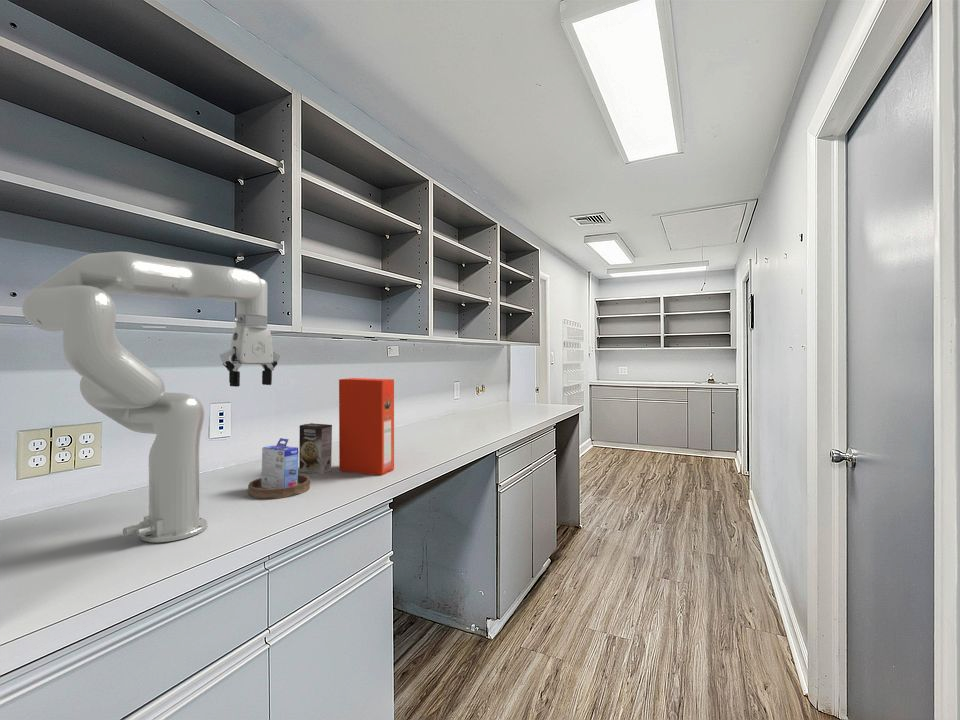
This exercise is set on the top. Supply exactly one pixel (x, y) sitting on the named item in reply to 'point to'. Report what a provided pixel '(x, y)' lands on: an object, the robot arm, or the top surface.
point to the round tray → (264, 493)
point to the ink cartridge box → (279, 466)
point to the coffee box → (315, 448)
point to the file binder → (366, 425)
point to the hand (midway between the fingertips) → (251, 385)
